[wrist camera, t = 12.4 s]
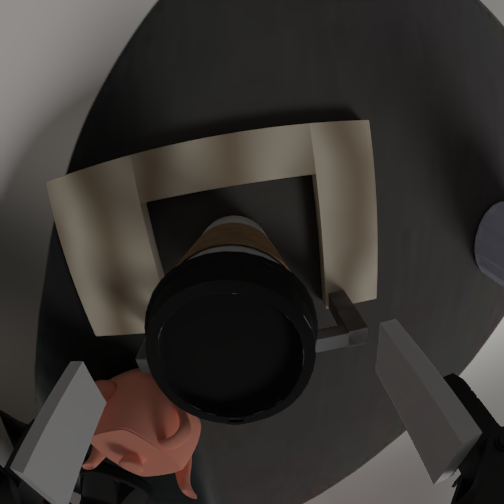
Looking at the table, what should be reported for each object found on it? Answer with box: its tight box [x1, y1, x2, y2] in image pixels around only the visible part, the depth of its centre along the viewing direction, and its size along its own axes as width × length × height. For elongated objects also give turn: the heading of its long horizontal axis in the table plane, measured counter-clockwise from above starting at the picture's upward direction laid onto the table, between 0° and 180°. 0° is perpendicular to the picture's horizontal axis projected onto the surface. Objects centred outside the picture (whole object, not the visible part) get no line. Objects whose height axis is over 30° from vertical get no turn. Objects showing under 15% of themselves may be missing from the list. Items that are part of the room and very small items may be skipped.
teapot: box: [82, 368, 201, 499], centre depth 27 cm, size 14×14×11 cm
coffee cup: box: [144, 215, 318, 425], centre depth 19 cm, size 8×8×15 cm
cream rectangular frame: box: [46, 120, 377, 373], centre depth 22 cm, size 28×16×8 cm, turn 99°
